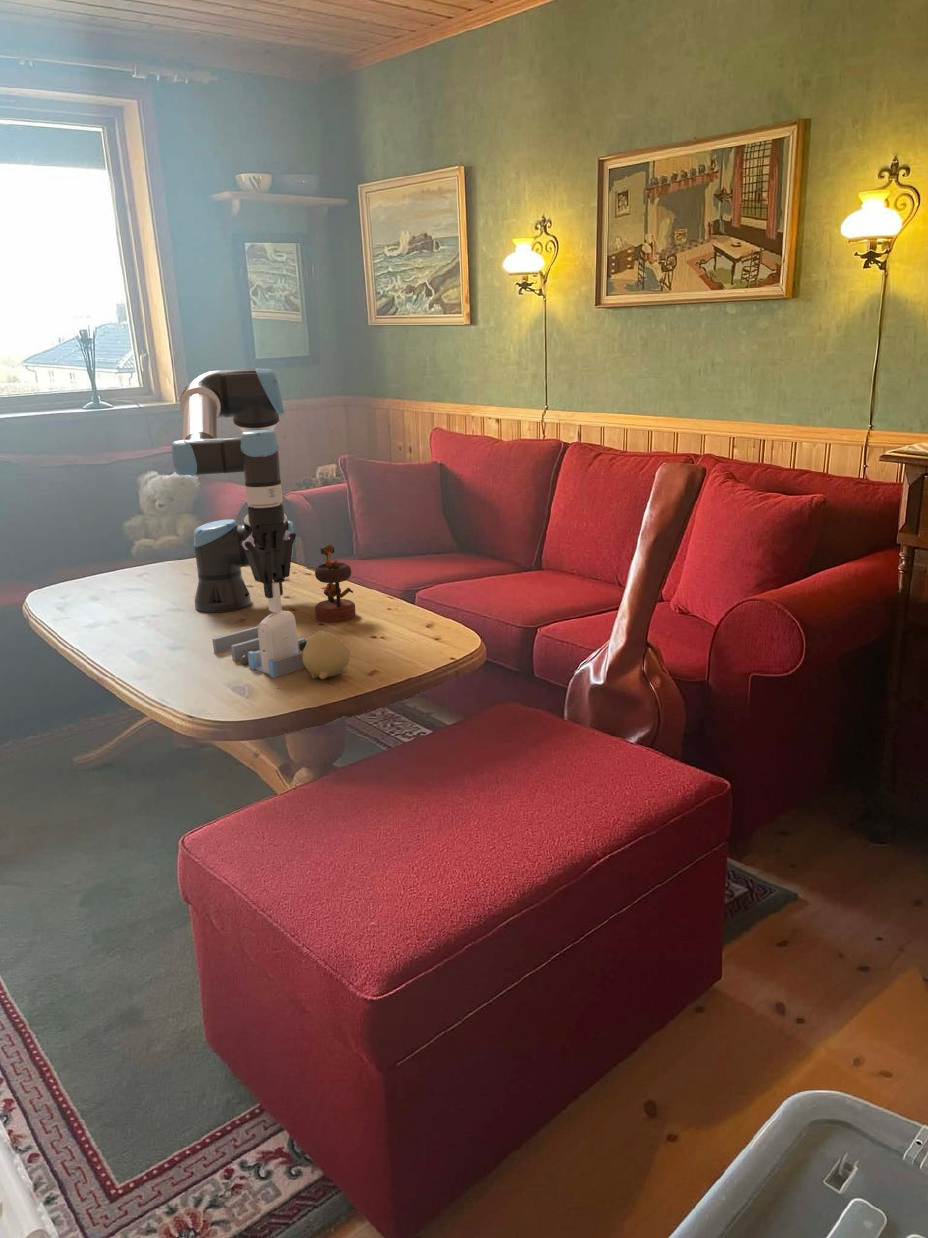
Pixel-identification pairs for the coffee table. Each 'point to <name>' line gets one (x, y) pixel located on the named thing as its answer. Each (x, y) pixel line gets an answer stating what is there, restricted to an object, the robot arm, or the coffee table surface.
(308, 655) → the tan frog figure
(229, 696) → the coffee table surface
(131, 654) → the coffee table surface
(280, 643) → the photo printer
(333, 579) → the music box
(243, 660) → the grey shelf rack
